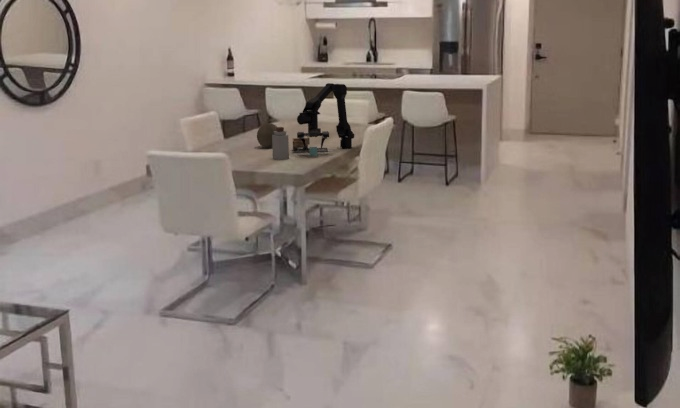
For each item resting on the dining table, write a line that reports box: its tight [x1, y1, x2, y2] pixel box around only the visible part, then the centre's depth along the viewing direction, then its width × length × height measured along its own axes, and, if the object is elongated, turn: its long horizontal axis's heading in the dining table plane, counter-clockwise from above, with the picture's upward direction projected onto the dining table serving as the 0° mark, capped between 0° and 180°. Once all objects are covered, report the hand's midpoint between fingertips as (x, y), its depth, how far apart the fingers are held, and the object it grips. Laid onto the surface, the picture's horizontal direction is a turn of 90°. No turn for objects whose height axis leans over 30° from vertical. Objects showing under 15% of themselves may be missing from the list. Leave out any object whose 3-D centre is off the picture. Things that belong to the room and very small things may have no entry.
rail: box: [292, 147, 329, 154], centre depth 454 cm, size 21×11×1 cm, turn 94°
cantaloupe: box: [256, 123, 278, 149], centre depth 467 cm, size 14×14×15 cm
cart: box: [292, 136, 311, 151], centre depth 453 cm, size 10×12×8 cm
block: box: [308, 146, 318, 157], centre depth 442 cm, size 4×4×4 cm
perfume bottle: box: [271, 126, 290, 161], centre depth 430 cm, size 7×7×18 cm
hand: (313, 149), depth 441 cm, fingers open, 9 cm apart
